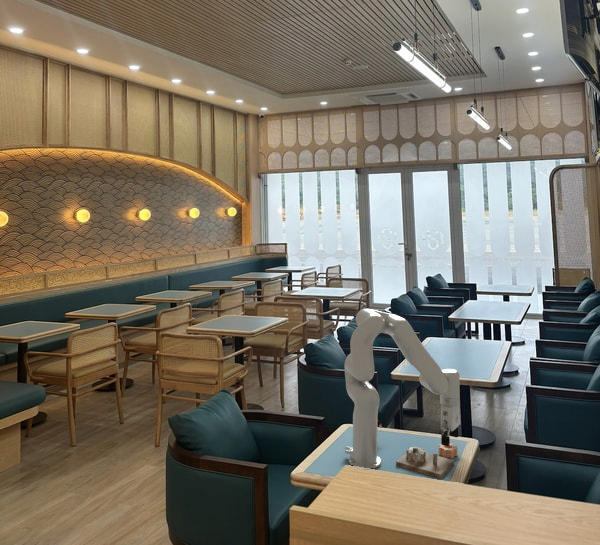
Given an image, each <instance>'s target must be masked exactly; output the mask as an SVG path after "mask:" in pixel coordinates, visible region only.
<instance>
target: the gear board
mask: <svg viewBox="0 0 600 545" xmlns="http://www.w3.org/2000/svg"><path fill="white" fill-rule="evenodd" d="M453 464H454V465H455V460H454V459H452V458H448V457H446V458H445V457H444V456H441V455H439V456H438V453H437V452H433V453H428V452H427V451H426V450H425V449H424V448H423V447H418V446H414V447H411V446H409V447H408V448H407V449H406V452H405V453H404V454H403V455H402V456H401V457H399V458H398V459H397V460H396V461H395V465H396V466H397V467H401V468H405V469H407V470H411V471H414V472H417V473H422V474H425V475H427V476H431V475H432V477H435V478H438V479H442V478H443V477H444V475H445V474H446V473H447V472H448V471H449V470H450V469H451V468H452V467H453V466H454V465H453ZM452 465H453V466H452ZM451 466H452V467H451Z"/></svg>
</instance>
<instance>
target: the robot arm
mask: <svg viewBox="0 0 600 545" xmlns="http://www.w3.org/2000/svg"><path fill="white" fill-rule="evenodd" d="M355 323H356V325H357V327H356V328H355V330H354V331H353V332H352V334H351V337H350V342H349V343H350V344H349V345H350V353H349V354H348V355H347V356H346V357H345V360H344V377H345V389H346V392H347V395H348V396H349V398H350V399H351V400H352V402H353V403H354V408H353V413H352V447H351V446H348V445H346V446H344V447H345V448H344V454H347V455H349V458H348V463H349V465H350V466H352V465H353V466H359V467H364V468H373V469H372V470H374V469H377V468H378V467H380V466H381V464H382V459H381V457H379V456H378V424H377V420H378V417H379V416H378V414H379V407H380V395H379V392H378V391H377V389H376V388H375V387H374V386H373V385H372V384H371V383H370V382H369V381H371V380H372V379H373V378H374V375H375V362H374V353H373V351H374V348H373V347H374V346H373V345H374V341H375V339H376V338H377V337H378V336H379V335H380V334H386V335H389V336H390V337H391V339H393V341H394V342H395V344H396V345H397V347H398V349H399V350H400V352H401V353H402V355H403V357H404V358H405V359H406V361H407V362H408V363H409V364H410V366H413V368H415V370H416V371H417V372H419V376H418V381H419V383H420V384H421V386H423V387H424V388H425V389H427V390H429V391H430V392H431V393H432V394H434V395H437V396H439V404H440V405H441V409H440V436H441V437H440V438H441V439H440V440H441V443H440V444H442V445H444V446H450V443H451V438H450V437H452V438H459V426H460V424H461V413H460V412H461V410H460V398H461V397H460V396H461V395H460V392H461V390H460V386H461V385H460V381H461V380H460V372H459V371H458V370H457V369H453V368H446V369H445V368H444V369H441V367H440V366H439V364H438V363H437V362H436V361H435V359H434V357H432V356H431V354H430V352H428V350H427V349H426V347H424V344H423V343H422V342H421V340H420V338H419V337H418V335H417V334H416V332H415V330H414V329H413V327H412V325H411V324H410V323H409V321H408V320H407V319H406V318H404V317H402V316H399V315H397V314H394V313H389V312H384V311H379V310H377V309H371V308H362V309H360V310H359V311H358V312H357V314H356V316H355ZM353 466H352V467H353Z"/></svg>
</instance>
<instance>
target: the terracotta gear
mask: <svg viewBox="0 0 600 545" xmlns="http://www.w3.org/2000/svg"><path fill="white" fill-rule="evenodd" d="M438 455H439V456H441V457H444V458H447V459H453V458H455V457H454V456H457V457H458V445H455V444H453V443H452V442H450V446H444V445H442V444H441V443H439V444H438ZM449 457H450V458H449Z"/></svg>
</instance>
